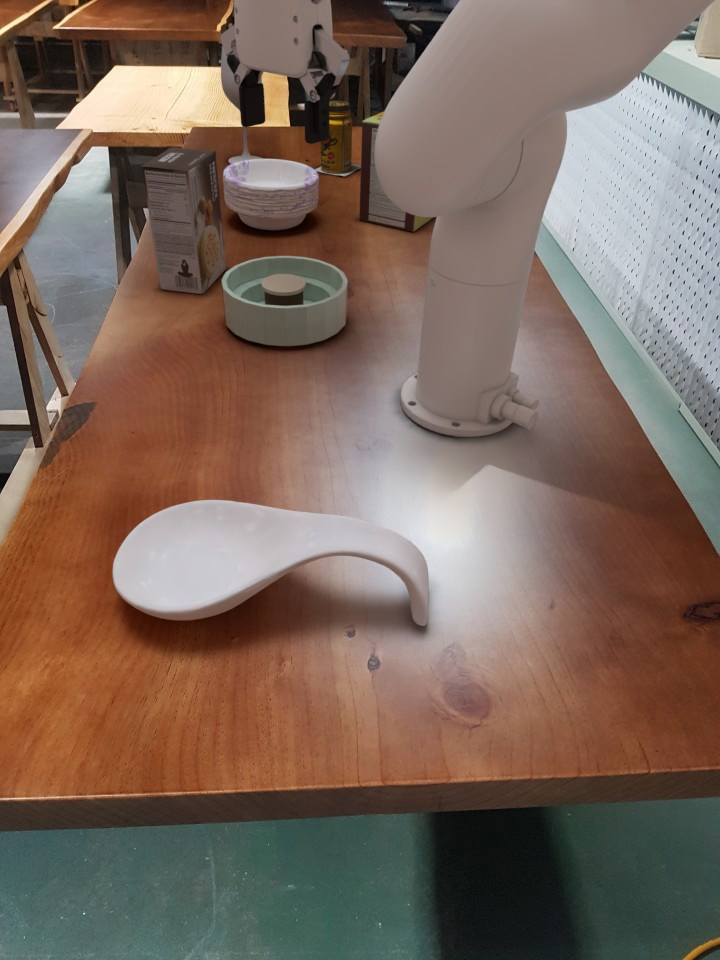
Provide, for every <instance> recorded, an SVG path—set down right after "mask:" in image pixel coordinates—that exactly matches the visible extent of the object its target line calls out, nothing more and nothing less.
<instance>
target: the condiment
mask: <svg viewBox="0 0 720 960" xmlns="http://www.w3.org/2000/svg"><path fill="white" fill-rule="evenodd" d="M351 107H352V106H351V103H349V102H348V101H343V100H330V107H329V139H328V140H325V141H321V142H320V166H319V167H317V168H315V169H314V170H315V171H316V172H317V173H322V174H328V175H333V176H342V177H347V176H349V175H351V174H352V173H355V172H356V171H357V170H361V164H355V163H352V153H353V151H352V150H353V149H352V146H353V120H352V117H351V116H352V113H351Z"/></svg>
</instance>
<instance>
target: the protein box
mask: <svg viewBox="0 0 720 960" xmlns="http://www.w3.org/2000/svg"><path fill="white" fill-rule="evenodd" d="M384 112H385V110H384V111H382V112H379V113H377V114H375V115H372V116H369V117H367V118H365V119H363V120H362V121H361V153H360V154H361V155H360V165H361V168H360V179H359V180H360V183H359V184H360V186H359V216H358V217H359V218H358V220H359V221H361V222H366V223H370V224H371V223H372V224H377V225H380V226H385V227H389V228H393V229H399V230H403V231H407V232H412V233H414V232H416V231H417V230H418V229H419V228H421V227H423V226H424V225H425V224H426V223H428V222H429V221H430V220H432V219H433V218H434V217H420V216H416V215H412V214H409V213H407V212H405V211H403V210H402V209H400V208H399V207H397V206H396V205H395V204H394V203H393V202H391V200H390V199H389V198H388V197H387V196H386V194H385V193H384V191H383V189H382V187H381V185H380V183H379V180H378V177H377V173H376V168H375V157H374V152H375V141H376V135H377V131H378V127H379V124H380V121H381V118H382V116H383V114H384Z"/></svg>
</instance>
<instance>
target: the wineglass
mask: <svg viewBox="0 0 720 960" xmlns="http://www.w3.org/2000/svg"><path fill="white" fill-rule="evenodd" d="M220 57H221V59H220V80H221V81H220V82H221V88H222V91H223V93H224V96H225V97H226V98H227V99H228V101H229V102H230V103H231V104H232V105H233V106H234V107H235V108H237V109H238V110H239V111H240V100H239V87H240V86H237V85H236V84H235V82H234V74H233V72H232V71H231V69H230V67H229V66H228V64H227V56H226V54H225V51H224V48H223V45H222V44H221V55H220ZM258 83H263V75H262V76H261V78H260V80H259V81H258ZM247 133H248V132H247V127H244V126H242V138H243V151H242V153H241V155H236V156H232V157H230V158H229V159H228V164H229V165H231V164H233V163H236V162H240V161H245V160H252V159H264V158H263V157H260V156H257V155H251V153H250V152H249V148H248V134H247Z"/></svg>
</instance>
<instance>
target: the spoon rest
mask: <svg viewBox="0 0 720 960" xmlns="http://www.w3.org/2000/svg"><path fill="white" fill-rule="evenodd" d="M330 557H355V558H360V559H363V560H366V561H367V560H368V561H371V562H374V563H377V564H379V565H381V566H384V567H386V568H387V569H389V570H390V571H391V572H393V573H394V574H395V575H396V576H397V577H398V578H400V580H401V581H402V583H403V584H404V585H405V587H406V590H407V593H408V596H409V601H410V609H411V610H410V611H411V617H412V620H413V622H414V623H415V624H416V625H418V626H422V627H423V626H426V625H427V623H428V618H429V592H430V591H429V590H430V589H429V588H430V587H429V585H430V583H429V568H428V567H429V566H428V564H427V559H426V558H425V555H424V554H423V553H422V551H421V550H420V548H418V547H417V545H416V544H414V542H412V541H411V540H409V539H408V538H407V537H404V536H403V535H402V534H399V533H398V532H396V531H394V530H392V529H389V528H387V527H384V526H382V525H379V524H377V523H373V522H371V521H367V520H364V519H361V518H357V517H351V516H346V515H340V514H328V513H318V512H309V511H307V512H306V511H298V510H290V509H283V508H279V507H273V506H267V505H261V504H255V503H249V502H241V501H236V500H235V501H234V500H224V499H204V500H194V501H188V502H184V503H183V502H182V503H179V504H176V505H173V506H172V505H171V506H169V507H167V508H164V509H161V510H160V511H157V512H155V513H154V514H152V515H150V516H148V517H147V518H145V519H144V520H142V521H141V522H140V523H139V524H137V526H135V527H134V528H133V529H132V530H131V531H130V532H129V533H128V535H126V537H125V539H124V540H123V541H122V543H121V545H120V546H119V547H118V549H117V552H116V554H115V557H114V558H113V563H112V581H113V586H114V588H115V590H116V592H117V593H118V594H119V596H120V597H121V598H122V600H124V601H125V602H126V603H127V604H129V605H130V606H132V607H133V608H135V609H136V610H138V611H140V612H142V613H144V614H146V615H149V616H152V617H155V618H158V619H163V620H169V621H194V620H203V619H207V618H210V617H214V616H218V615H220V614H223V613H226V612H228V611H231V610H232V609H234V608H235V607H238V606H239V605H241V604H243V603H244V602H245V601H247V600H248V599H250V598H251V597H253V596H255V595H256V594H257V593H259V592H261V591H262V590H264V589H265V588H266V587H268V586H270V585H271V584H273V583H274V582H276V581H278V580H279V579H281V578H282V577H284V576H285V575H288V574H289V573H291V572H293V571H295V570H297V569H298V568H300V567H303V566H305V565H307V564H309V563H312V562H315V561H317V560H321V559H325V558H330Z"/></svg>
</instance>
